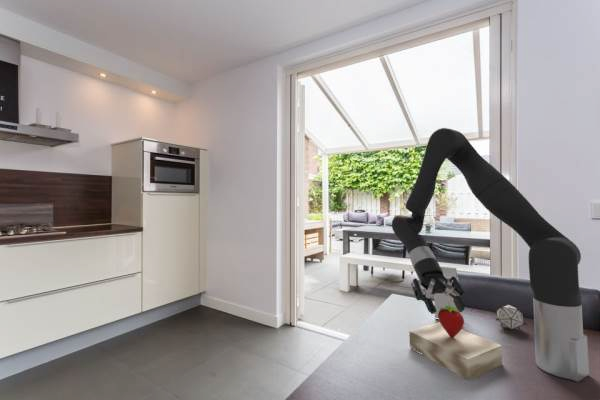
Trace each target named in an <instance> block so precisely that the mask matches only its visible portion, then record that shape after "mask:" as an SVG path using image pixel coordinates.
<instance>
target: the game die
mask: <svg viewBox="0 0 600 400" xmlns="http://www.w3.org/2000/svg"><path fill="white" fill-rule="evenodd" d="M499 306H500V307H499V308H498V309H495V308H494V311H495V312H496V318H495V321H499V323H500V326H501V327H502V326H504V327H506V328H508V329H509V330H510V331H509V332H511V333H512V332H513V330H514V329H516V328H517V329H520V328H521V327H520V326H522V325H525V326H527V325H528V324H527V322H525V319H524V317H523V315H524V316H525V313H524V312H521V310H520V309H521V308H520V307H514V306H513V305H510V302H509V301H508V302H507V304H506V305H504V306H503V305H501V304H500V305H499Z"/></svg>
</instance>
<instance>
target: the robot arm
mask: <svg viewBox="0 0 600 400" xmlns="http://www.w3.org/2000/svg"><path fill="white" fill-rule="evenodd" d="M446 160H448V161H449V162H450V163H452V164H453V165H454V167H456V168H457V169H458V170H459V171H460V172H461V174H462V175H463V177H464V179H465V181H466V184H467V186H468V188H469V190H470V191H471V193H472V194H473V196H474V197H475V198H476V199H477V200H478V201H479V202H480V204H481V205H482V206H483V207H484V208H485V209H486V210H487V211H488V212H489V213H490V214H492V215H493V216H494V217H496V218H497V219H498V220H500V221H501V222H503V223H504V224H506V225H507V226H508V227H509V228H511V229H512V230H513V231H515V232H516V233H517V234H518V235H519V237H520V238H521V239H522V240H523V241H524V242H525V243H526V245H527V246H528V247H529V251H528V271H529V284H530V289H531V290H532V304H533V326H534V329H533V330H534V345H535V346H534V348H535V349H534V351H535V365H537V367H538V368H540V370H542V371H544V372H546V373H548V374H551V375H553V376H555V377H559V378H563V379H567V380H572V381H574V382H578V383H579V382H580V381H581V380H584V378H586V377H588V376H589V375H590V370H589V368H590V367H589V350H588V348H589V347H588V336H587V335H586V334H584V327H583V326H584V325H583V307H582V306H583V304H582V303H583V301H582V293H581V289H580V283H579V279H580V278H579V264H580V263H581V260H582V256H581V255H582V254H581V251H580V249H579V247H578V246H577V245H576V244H575V243H574V242H573V241H572V240H571V239H569V238H568V237H567V236H565V235H564V234H563V233H561V232H560V231H559V230H558V229H557V228H555V227H554V226H553V225H552V224H551V223H549V222H548V221H547V220H546V219H545V218H544V217H543V216H542V215H541V214H540V213H539V212H538V211H537V210H536V208H535V207H534V206H533V205H532V203H530V202H529V200H528V199H527V198H526V197H525V196H524V195H523V193H521V191H519V190H518V189H517V187H516V186H514V184H513V183H511V181H510V180H508V178H506V176H504V175H503V174H502V173H501V172H500V171H499V170H498V169H497V168H495V167H494V166H493V165H492V164H491V163H489V162H488V161H487V160H486V159H485V158H483V156H481V155H480V154H479V152H478V151H477V150H476V149H475V148H474V146H473V145H472V143H470V141H469V140H468V139H467V137H466V136H465V135H464V134H463V132H462V133H461V132H460V131H459V130H455V129H452V128H447V127H442V128H438V129H435V131H433V132H432V133H431V135H430V136H429V138H428V141H427V144H426V147H425V151H424V156H423V159H422V162H421V166H420V169H419V172H418V175H417V177H416V180H415V183H414V185H413V187H412V190H411V192H410V194H409V196H408V198H407V200H406V203H405V208H406V210H407V211H409V212H411V215H410V216H409V215H403V214H399V215H396V216H394V217H393V218H392V222H391V229H392V231H393V233H394V235H395V236H396V237H397V238H398V240H399V241H400V242H401V244H403V246H404V247H405V249H406V251H407V253H408V255H409V259H410V262H411V264H412V268H413V269H414V271H415V273H416V276H417V278H413V279H412V281H411V283H410V284H411V289H412V291H413V293H414V296H415V299H416V300H417V301H423V302H424V303H425V307H426V310H427V312H429V313H430V314H431V315H435V312H436V308H435V304H434V302H433V300H432V298H431V295H434V294H436V293H439V294H441V293H444V294H445V295H446V296H449V297H451V298H452V299H453V302H454V303H455V305H456V307H457V309H458V310H460V311H459V312H460V313H462V312H463V311H465V304H464V302H463V301H462V299H461V298H462V296H464V295H465V291H464V290H463V288H462V285H461V284H460V282H459V280H458V281H457V279H456V278H455V277H454V276H452V277H451V278H448V279H446V278H445V277H444V275H443V271H442V269H441V267H442V266H441V265H440V263H439V262H438V260H437V258H436V256H435V254H434V252H433V251H432V250H431V248H430V246H429V244H428V242H427V240H426V238H425V237H424V236H423V235H421V234H420V233H421V232H422V230H423V227H424V222H425V216H426V211H427V208H428V207H429V205H430V203H431V201H432V199H433V197H434V195H435V189H436V186H437V185H436V184H437V180H438V179H437V178H438V175H439V171H440V169H441V167H442V166H443V164H444V162H445V161H446ZM440 266H441V267H440ZM447 283H449V284H447ZM421 287H423V288H424V289H425V290H424V292H423V291H422V288H421ZM446 288H447V289H448V291H446ZM453 294H454V295H453Z"/></svg>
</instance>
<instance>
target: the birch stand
mask: <svg viewBox="0 0 600 400" xmlns="http://www.w3.org/2000/svg"><path fill="white" fill-rule="evenodd" d="M408 335H409V348H410V347H411V348H413V349H415V350H416V351H418V352H420V353H422V354H423V355H422V354H421V355H422V356H424V355H425V356H427V357H428V358H427V357H426V358H427V359H429V358H430V359H429V360H431V359H432V360H431V361H433V362H434V361H435V362H434V363H436V364H439V365H440V366H442V367H444V368H445V369H447V370H449V371H451V372H453V373H455V374H457V375H458V376H459V377H462V378H464V380H467V381H470V380H473V379H474V378H477V377H478V376H479V377H480V376H481V375H483V374H486V373H488V372H489V371H492V370H494V369H496V368H498V367H500V366H503V353H502V352H503V348H502V346H503V345H502V344H500V343H496V342H494V341H492V340H489V339H487V338H484V337H481V336H479V335H477V334H474V333H471V332H468V331H466V330H464V329H461V330H460V332H459V333H458V334H457V335H456V336H455V337H453V338H452V337H450V336H449V335H448V333H447V332H446V331H445V329H444V328H443V326H442V325H441V323H440V321H439V322H435V323H432V324H428V325H425V326H422V327H421V326H420V327H419V328H414V329H411V330H409V333H408ZM411 348H410V349H411ZM413 349H412V350H413ZM416 351H415V352H416ZM418 352H417V353H418ZM420 353H419V354H420ZM425 356H424V357H425Z"/></svg>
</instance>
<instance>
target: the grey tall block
mask: <svg viewBox="0 0 600 400" xmlns="http://www.w3.org/2000/svg"><path fill="white" fill-rule="evenodd" d="M440 267H441V269H442V271H443V275H444V277H445V278H446V279H448V278H451V277H452V276H454V277H455V278H456V279H457V281H458V282H459V275H458V271H457V267H449V266H441V265H440ZM447 284H449V283H447ZM446 291H448V289H447V288H446ZM453 295H454V294H453ZM433 298H434V302H433V304H434V306H435V308H436V312H435V313H434V318H435V317H436V318H438V313H439V311H440V310H441V309H439V308H446V306H449V305H450V307H456V305H455V303H454V302H453V299H452V298H451V297H449V296H446V295H445V294H444V293H441V294H439V293H436V294H433ZM447 302H448V303H449V304H448V303H447ZM455 309H457V308H455ZM458 312H459V311H458ZM459 313H460V314H461V312H459Z"/></svg>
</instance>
